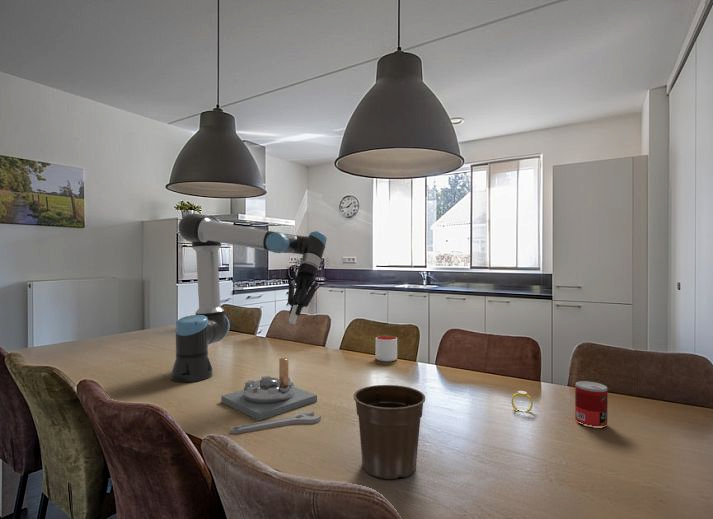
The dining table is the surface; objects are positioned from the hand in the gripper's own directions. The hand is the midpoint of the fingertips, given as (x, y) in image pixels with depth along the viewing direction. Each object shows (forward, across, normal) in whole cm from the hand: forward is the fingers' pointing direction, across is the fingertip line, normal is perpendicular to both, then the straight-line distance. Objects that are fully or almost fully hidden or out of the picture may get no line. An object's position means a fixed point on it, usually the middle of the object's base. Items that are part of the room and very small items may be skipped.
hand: (291, 322), depth 148 cm
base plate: (+28, -1, +1) cm, 28 cm away
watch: (+16, -78, -16) cm, 81 cm away
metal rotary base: (+27, -1, +2) cm, 27 cm away
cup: (-8, -21, -55) cm, 60 cm away
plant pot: (+41, -49, +22) cm, 68 cm away
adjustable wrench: (+36, -13, +12) cm, 40 cm away
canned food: (+17, -96, -14) cm, 99 cm away
